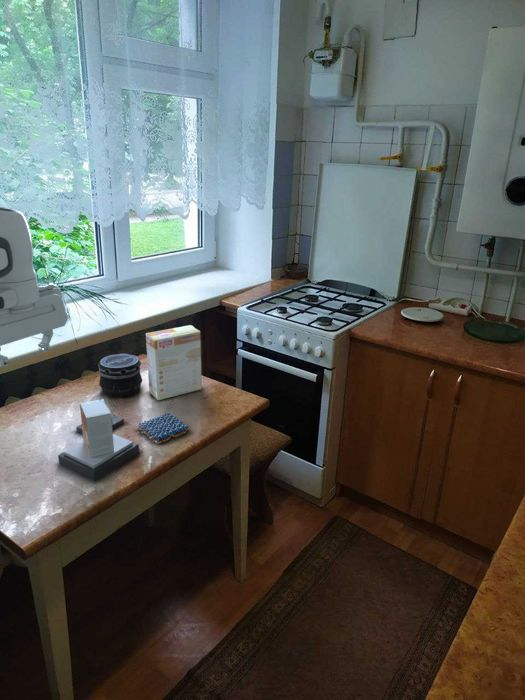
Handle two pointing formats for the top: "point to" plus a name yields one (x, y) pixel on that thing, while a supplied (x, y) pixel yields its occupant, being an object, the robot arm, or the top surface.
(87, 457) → the scale
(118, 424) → the dark grey button base
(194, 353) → the coffeecake box
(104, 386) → the container
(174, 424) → the woven mat
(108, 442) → the small box
